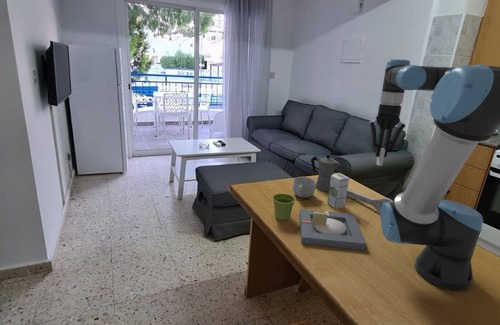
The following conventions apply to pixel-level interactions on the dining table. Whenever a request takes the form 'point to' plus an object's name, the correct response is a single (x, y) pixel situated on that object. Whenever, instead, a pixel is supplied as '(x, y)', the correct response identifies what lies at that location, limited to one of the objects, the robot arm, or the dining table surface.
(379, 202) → the wrench
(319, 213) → the dial
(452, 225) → the robot arm
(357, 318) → the dining table surface
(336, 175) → the syrup box
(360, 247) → the dial housing
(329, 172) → the coffeepot
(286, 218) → the plant pot
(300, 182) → the teacup
